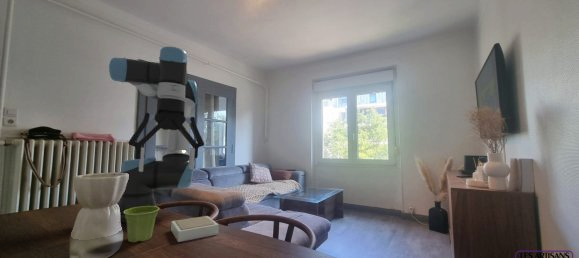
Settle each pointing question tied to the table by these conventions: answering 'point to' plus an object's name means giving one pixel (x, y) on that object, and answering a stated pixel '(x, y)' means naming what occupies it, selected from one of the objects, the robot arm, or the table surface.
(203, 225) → the pedestal
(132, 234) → the plant pot
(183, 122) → the robot arm
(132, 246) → the table surface
